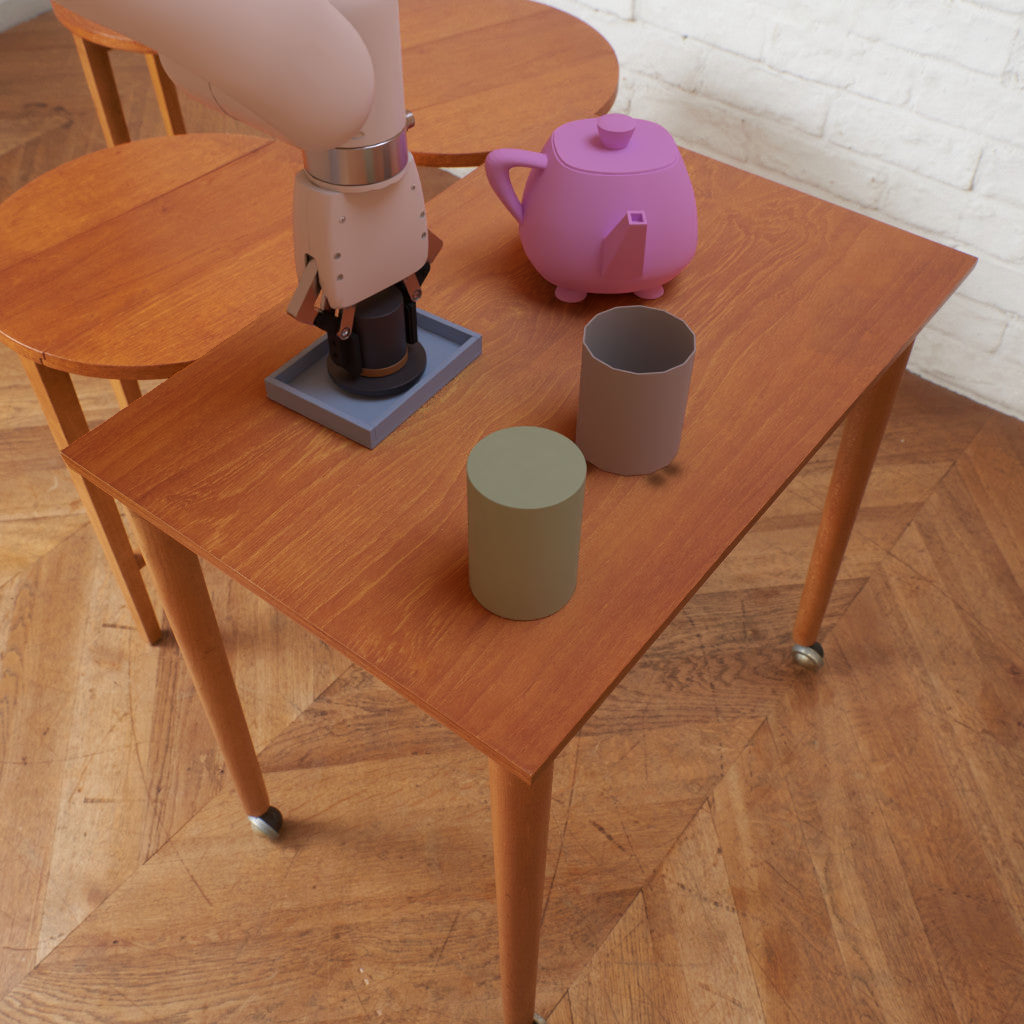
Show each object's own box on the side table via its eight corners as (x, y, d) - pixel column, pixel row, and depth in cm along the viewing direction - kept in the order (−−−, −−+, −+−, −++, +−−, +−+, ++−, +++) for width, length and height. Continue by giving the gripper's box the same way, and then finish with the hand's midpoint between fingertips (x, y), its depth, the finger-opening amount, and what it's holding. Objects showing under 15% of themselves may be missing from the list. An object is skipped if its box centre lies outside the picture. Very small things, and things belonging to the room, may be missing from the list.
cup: (649, 490, 80) (664, 388, 73) (556, 451, 83) (562, 349, 76) (695, 428, 85) (714, 327, 78) (606, 393, 88) (616, 293, 81)
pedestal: (483, 630, 71) (482, 518, 63) (458, 549, 76) (454, 436, 68) (590, 608, 72) (602, 496, 64) (558, 530, 77) (566, 417, 69)
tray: (371, 450, 83) (369, 431, 82) (267, 397, 87) (263, 379, 86) (482, 353, 92) (482, 334, 90) (382, 310, 96) (380, 291, 95)
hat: (335, 403, 85) (325, 337, 80) (320, 342, 91) (311, 277, 86) (436, 387, 87) (432, 321, 82) (416, 328, 92) (411, 263, 88)
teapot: (495, 351, 92) (496, 195, 81) (479, 229, 106) (477, 83, 95) (715, 340, 94) (744, 186, 83) (670, 222, 107) (690, 76, 97)
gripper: (410, 94, 81) (422, 292, 94) (223, 170, 72) (265, 376, 85) (477, 127, 77) (480, 328, 90) (289, 211, 69) (322, 420, 82)
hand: (375, 350), depth 88 cm, fingers closed on hat, 5 cm apart
